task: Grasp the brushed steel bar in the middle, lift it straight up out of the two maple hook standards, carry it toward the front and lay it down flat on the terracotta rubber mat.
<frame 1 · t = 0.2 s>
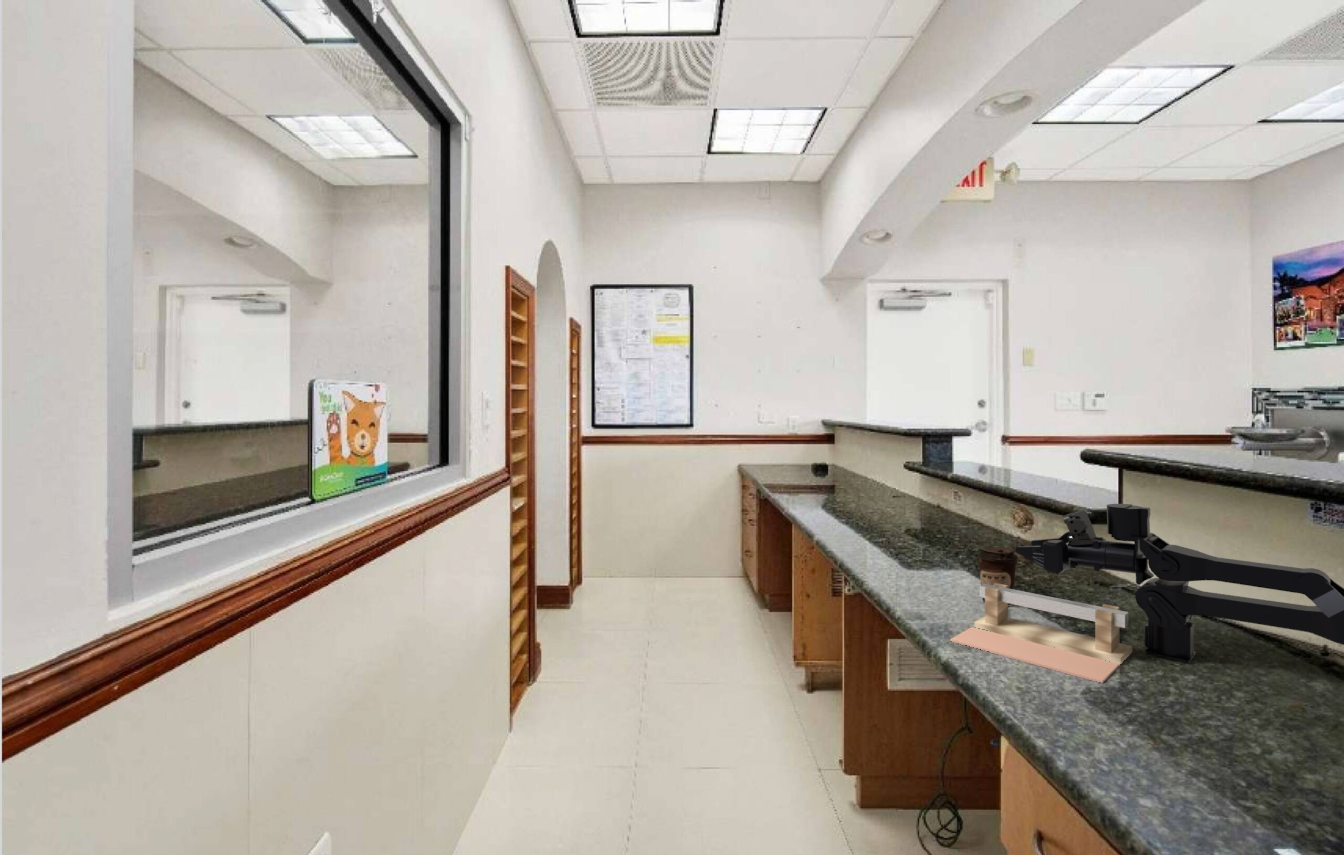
hand: (1023, 546, 134), 17 cm above the countertop, tool horizontal, fingers open, 9 cm apart
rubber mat: (1029, 653, 118), on the countertop
steel rail: (1048, 609, 124), point 6 cm above the countertop, touching hook stand
hook stand: (1048, 639, 124), on the countertop
coffee cup: (997, 604, 147), on the countertop
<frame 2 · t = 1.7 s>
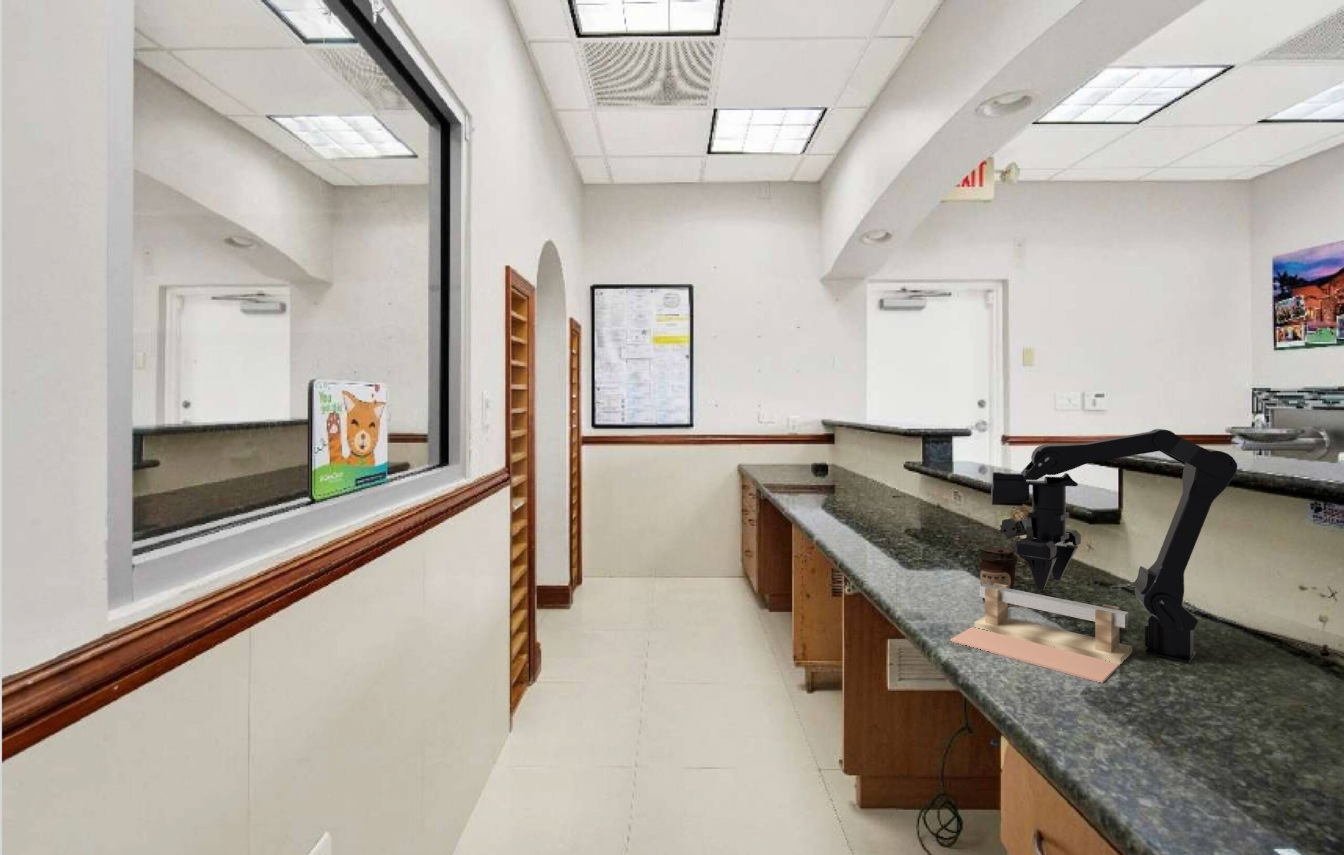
hand: (1048, 584, 124), 11 cm above the countertop, tool pointing down, fingers open, 9 cm apart
nothing on the countertop moved.
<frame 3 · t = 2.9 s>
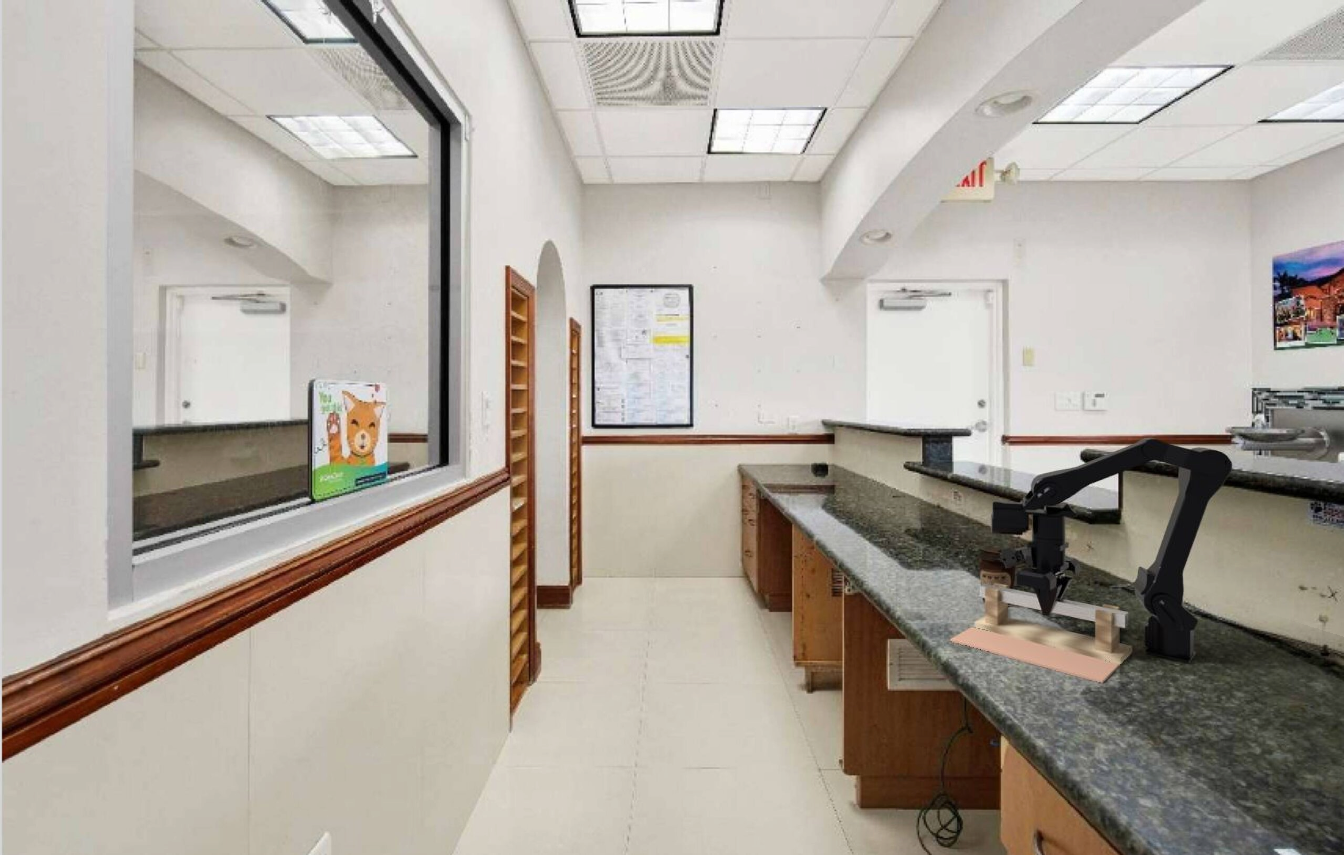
hand: (1048, 613, 124), 5 cm above the countertop, tool pointing down, fingers closed on steel rail, 2 cm apart
steel rail: (1048, 609, 124), point 6 cm above the countertop, touching gripper, hook stand
everything else where it was.
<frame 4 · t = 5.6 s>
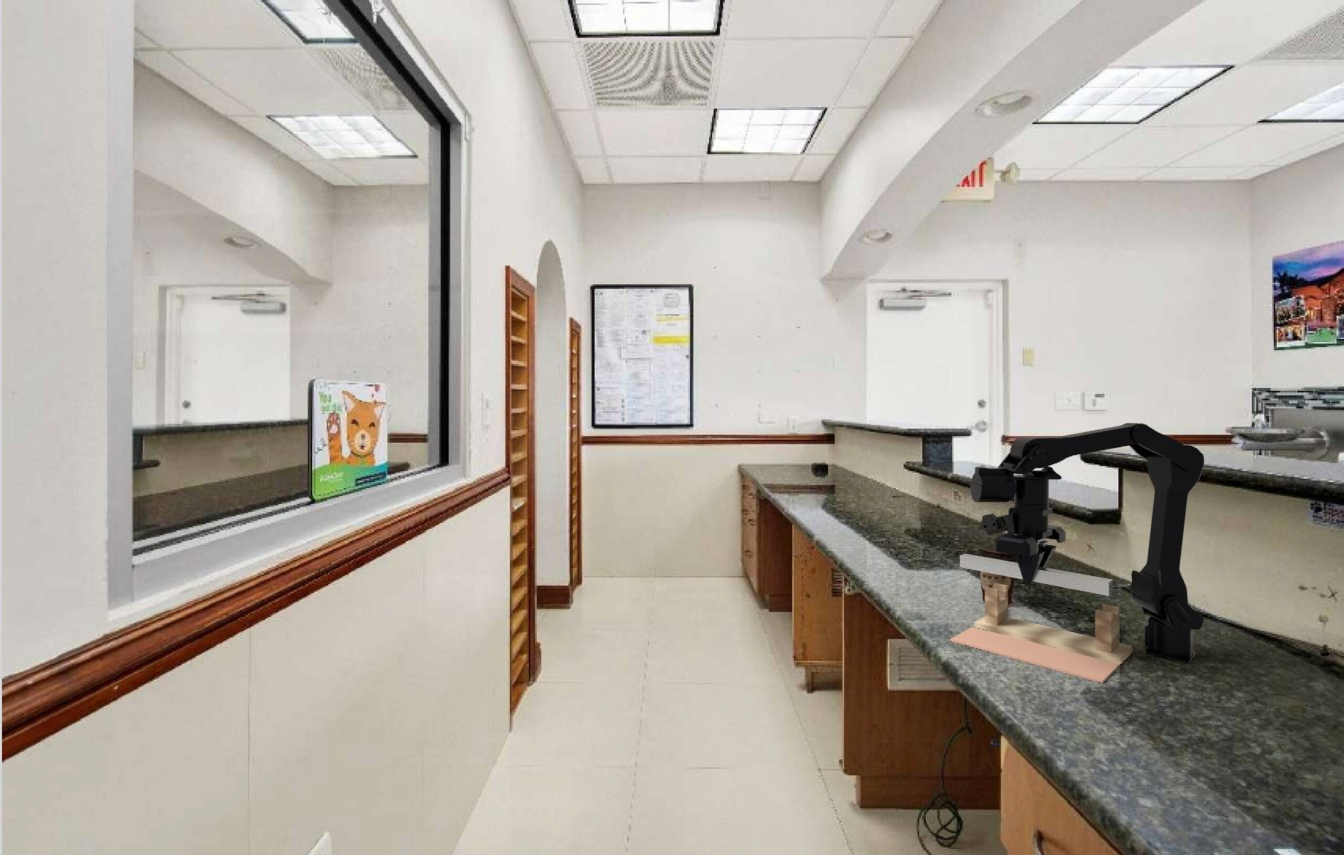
hand: (1030, 583, 118), 13 cm above the countertop, tool pointing down, fingers closed on steel rail, 2 cm apart
steel rail: (1030, 579, 118), point 14 cm above the countertop, touching gripper
everything else where it was.
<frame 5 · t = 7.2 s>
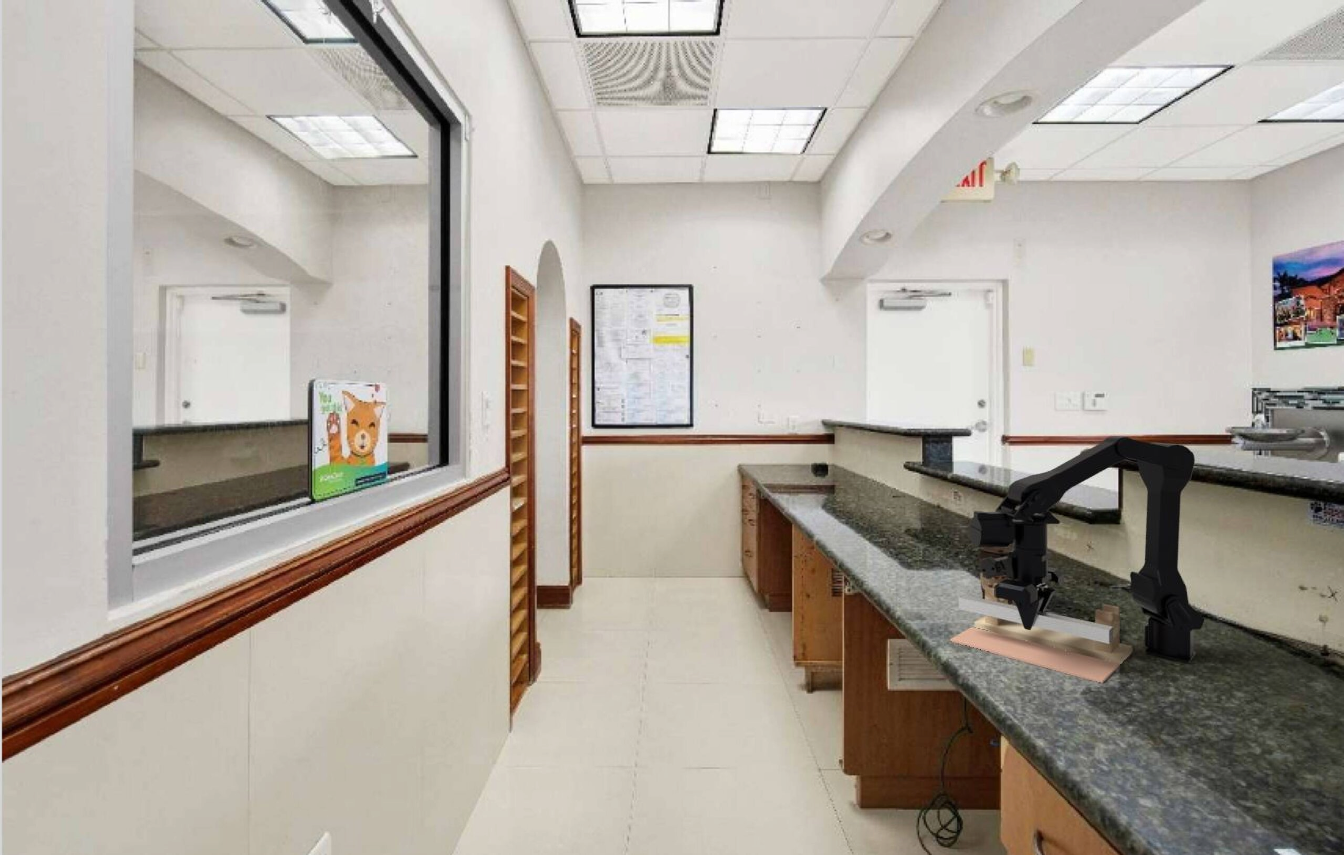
hand: (1030, 627, 117), 5 cm above the countertop, tool pointing down, fingers closed on steel rail, 2 cm apart
steel rail: (1029, 623, 117), point 6 cm above the countertop, touching gripper
everything else where it was.
when the fingers open (2 cm above the countertop, at t = 8.5 s): steel rail drops 2 cm, resting on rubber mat.
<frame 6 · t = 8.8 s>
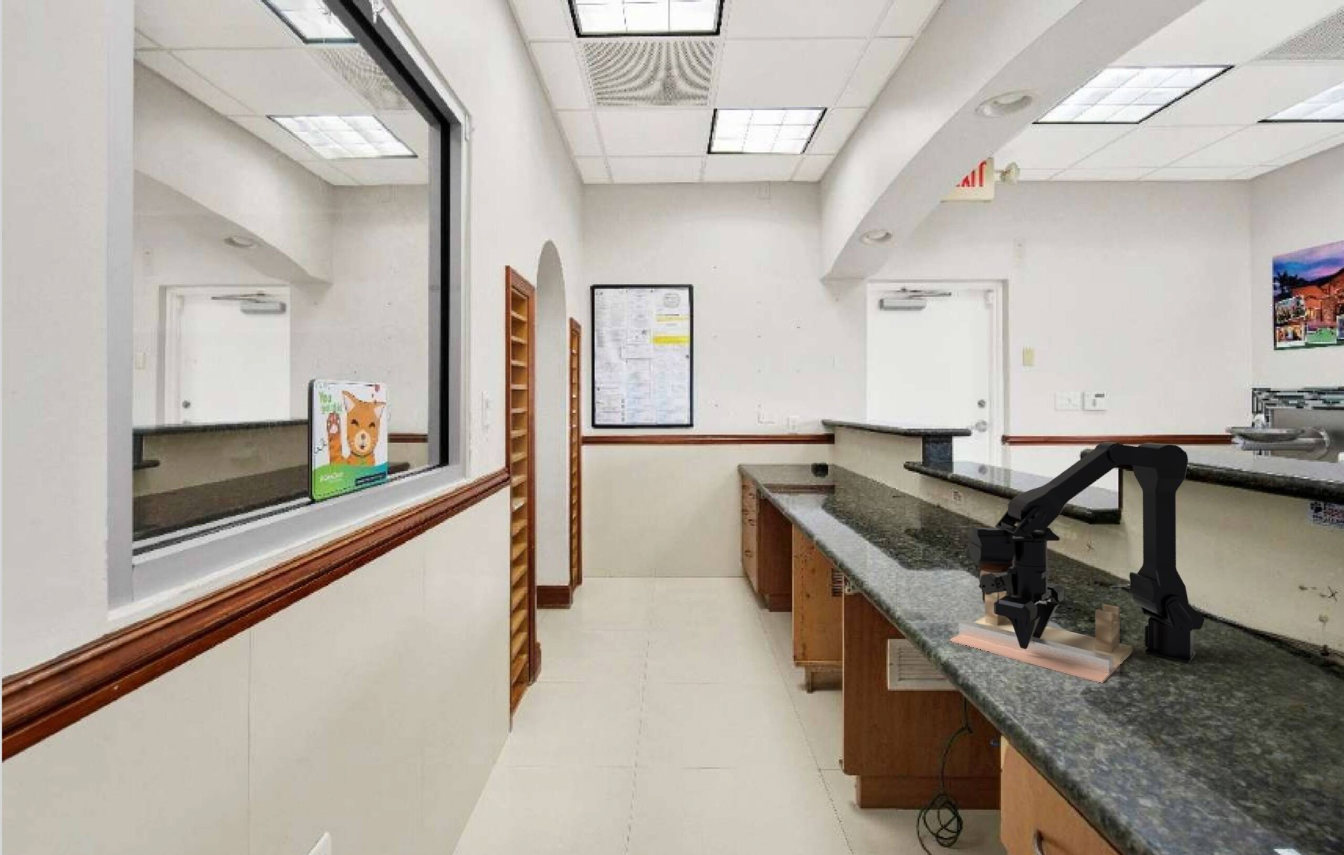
hand: (1030, 643, 118), 2 cm above the countertop, tool pointing down, fingers open, 6 cm apart
steel rail: (1029, 650, 118), resting on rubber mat
everything else where it was.
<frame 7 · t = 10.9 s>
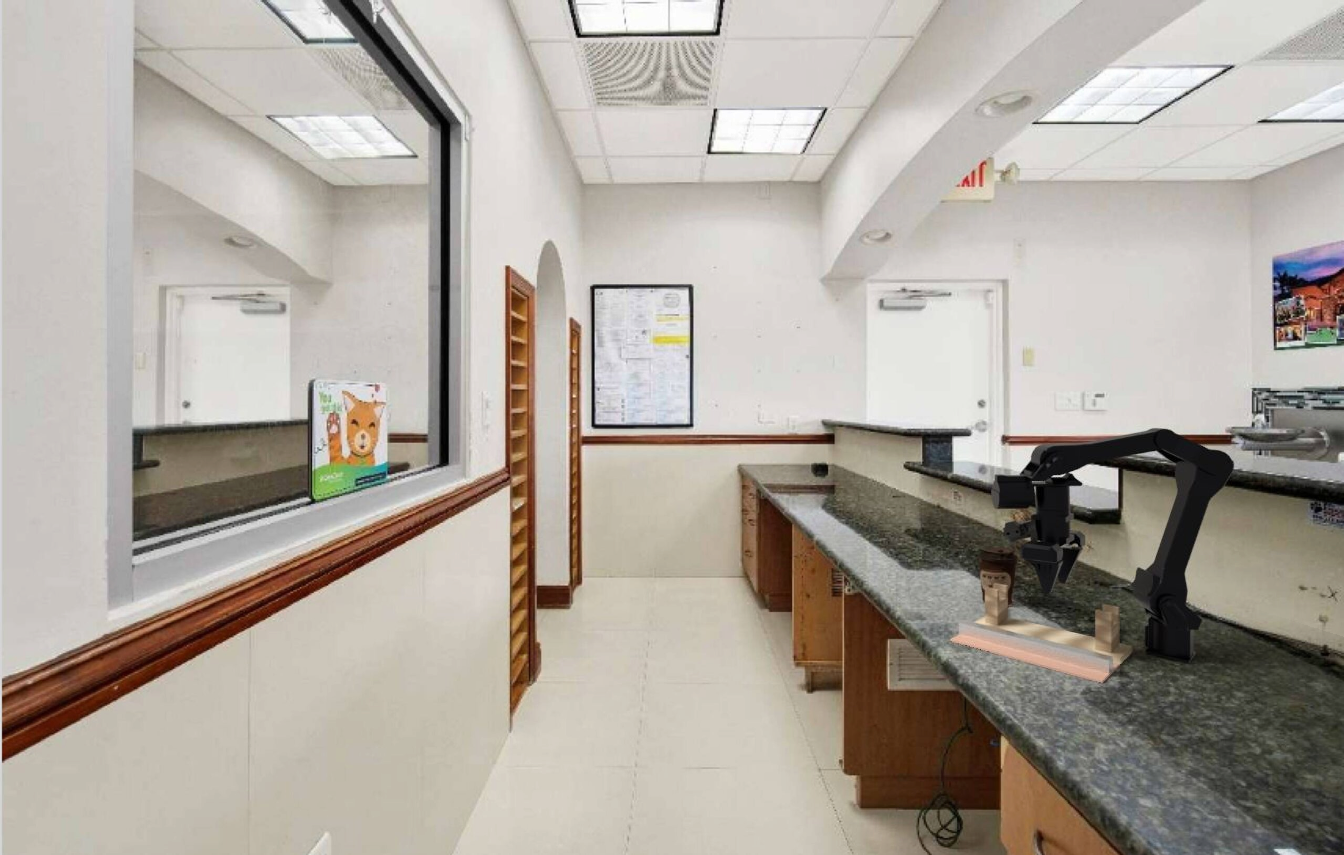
hand: (1054, 588, 120), 12 cm above the countertop, tool pointing down, fingers open, 9 cm apart
nothing on the countertop moved.
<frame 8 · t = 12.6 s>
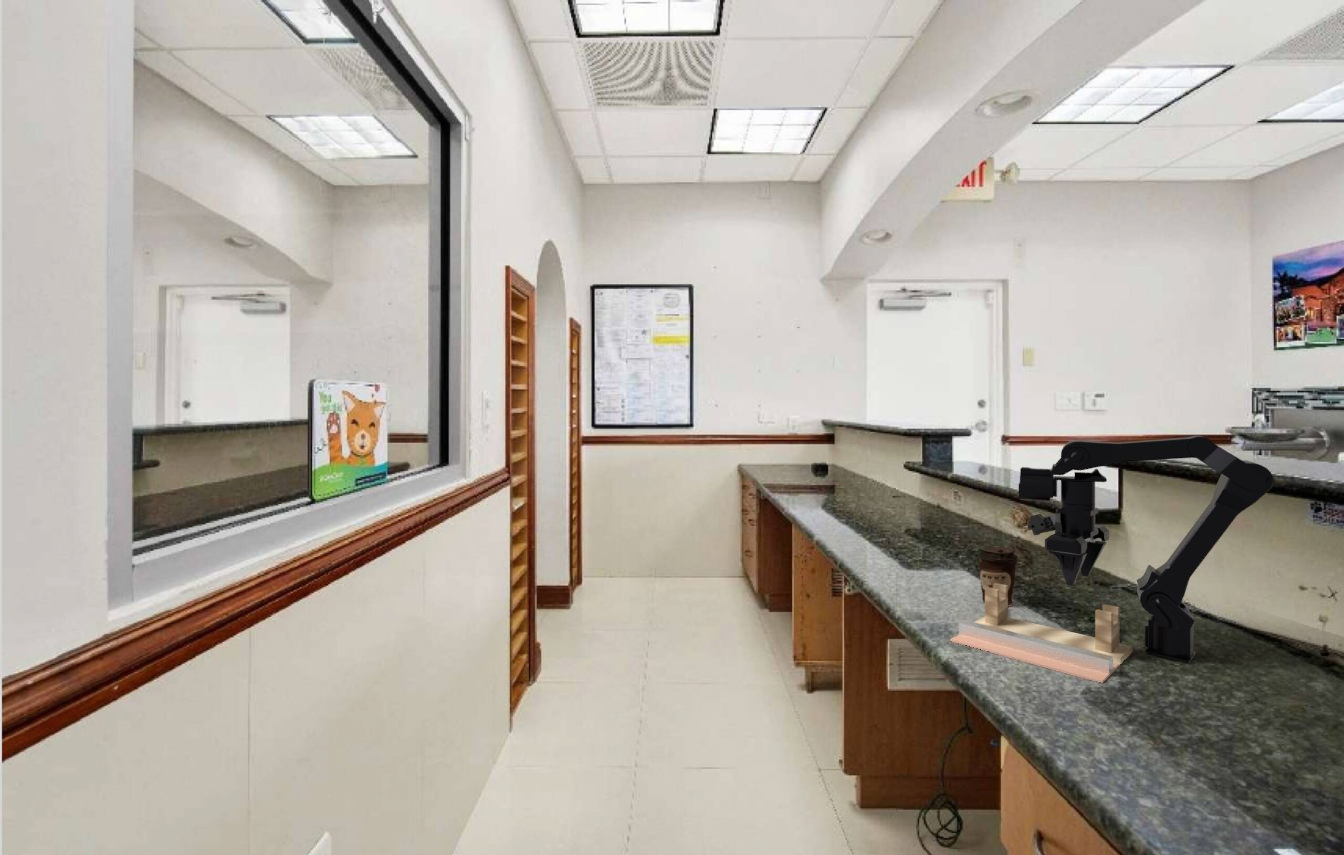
hand: (1077, 580, 123), 12 cm above the countertop, tool pointing down, fingers open, 9 cm apart
nothing on the countertop moved.
at the end: steel rail inside the target area on the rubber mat (0.1 cm from its centre), point 0.4 cm above the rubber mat's base; steel rail touching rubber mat; the gripper is holding nothing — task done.
